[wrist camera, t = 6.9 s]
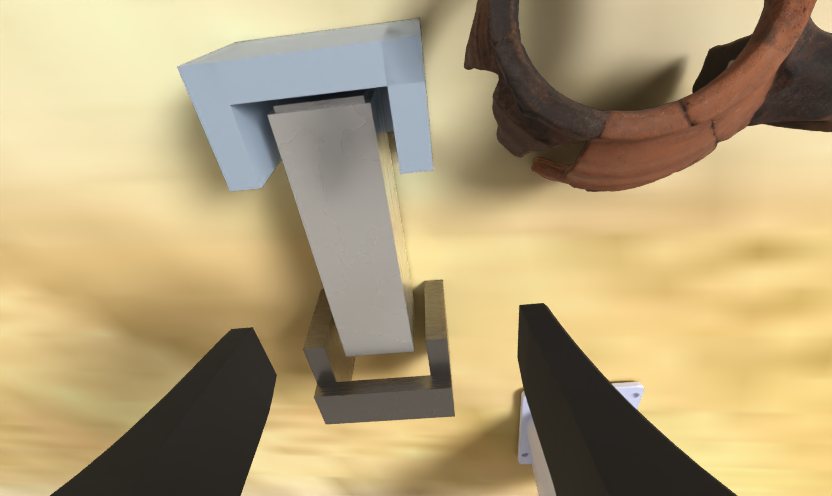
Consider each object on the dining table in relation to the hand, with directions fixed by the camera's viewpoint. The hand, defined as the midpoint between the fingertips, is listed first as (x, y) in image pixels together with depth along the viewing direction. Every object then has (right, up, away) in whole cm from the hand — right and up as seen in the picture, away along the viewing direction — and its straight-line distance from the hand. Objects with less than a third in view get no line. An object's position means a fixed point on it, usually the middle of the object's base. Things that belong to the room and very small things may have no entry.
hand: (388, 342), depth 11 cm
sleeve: (-1, -2, +12) cm, 13 cm away
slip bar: (-2, +4, +8) cm, 10 cm away
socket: (-2, +9, +5) cm, 11 cm away
